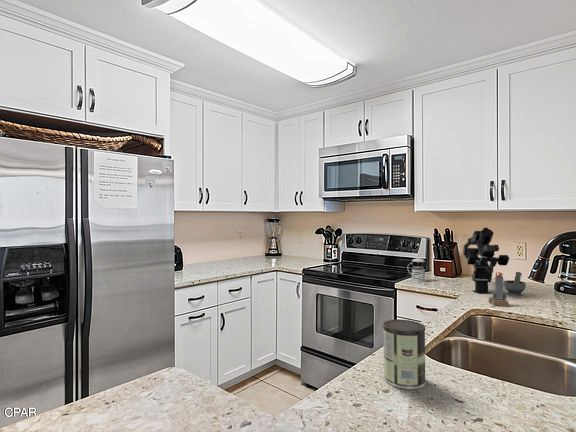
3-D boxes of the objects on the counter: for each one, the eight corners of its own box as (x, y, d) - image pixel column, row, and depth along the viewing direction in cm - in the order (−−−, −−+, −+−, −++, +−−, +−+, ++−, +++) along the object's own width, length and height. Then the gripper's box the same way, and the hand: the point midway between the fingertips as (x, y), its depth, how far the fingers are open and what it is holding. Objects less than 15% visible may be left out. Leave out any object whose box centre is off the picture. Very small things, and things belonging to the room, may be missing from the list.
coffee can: (408, 369, 96) (408, 317, 96) (434, 386, 86) (434, 329, 86) (375, 374, 93) (375, 320, 93) (398, 392, 83) (398, 333, 83)
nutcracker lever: (494, 297, 167) (494, 272, 168) (501, 297, 167) (501, 272, 167) (496, 298, 165) (496, 273, 165) (503, 298, 164) (503, 273, 164)
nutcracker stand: (488, 302, 172) (488, 290, 172) (502, 302, 170) (502, 291, 170) (494, 306, 164) (493, 294, 164) (508, 306, 163) (508, 294, 163)
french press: (425, 283, 221) (425, 244, 221) (406, 282, 226) (406, 243, 226) (427, 281, 230) (426, 243, 230) (408, 279, 235) (408, 242, 235)
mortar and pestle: (520, 297, 181) (520, 274, 182) (501, 294, 189) (500, 272, 189) (529, 295, 188) (529, 272, 188) (510, 292, 195) (510, 270, 196)
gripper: (468, 239, 185) (473, 262, 174) (507, 239, 180) (516, 263, 169) (464, 252, 192) (470, 275, 182) (502, 253, 188) (510, 277, 177)
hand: (491, 272), depth 177 cm, fingers closed
